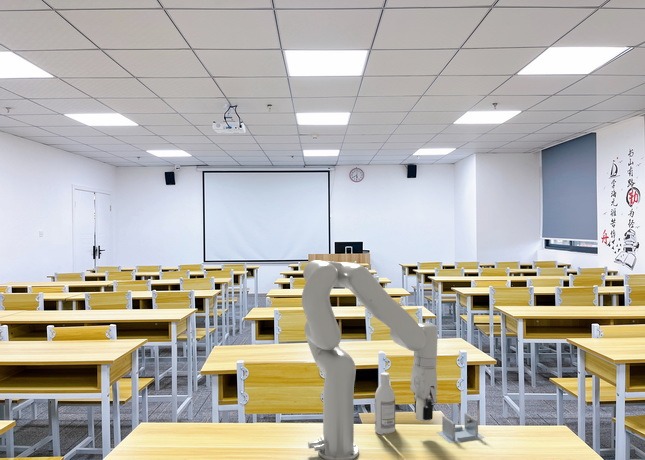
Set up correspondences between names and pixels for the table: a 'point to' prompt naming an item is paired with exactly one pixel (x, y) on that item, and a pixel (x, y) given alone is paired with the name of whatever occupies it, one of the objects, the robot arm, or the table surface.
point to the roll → (420, 408)
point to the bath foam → (384, 407)
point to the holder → (460, 435)
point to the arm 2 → (471, 425)
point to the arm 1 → (448, 428)
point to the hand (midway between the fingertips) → (423, 415)
